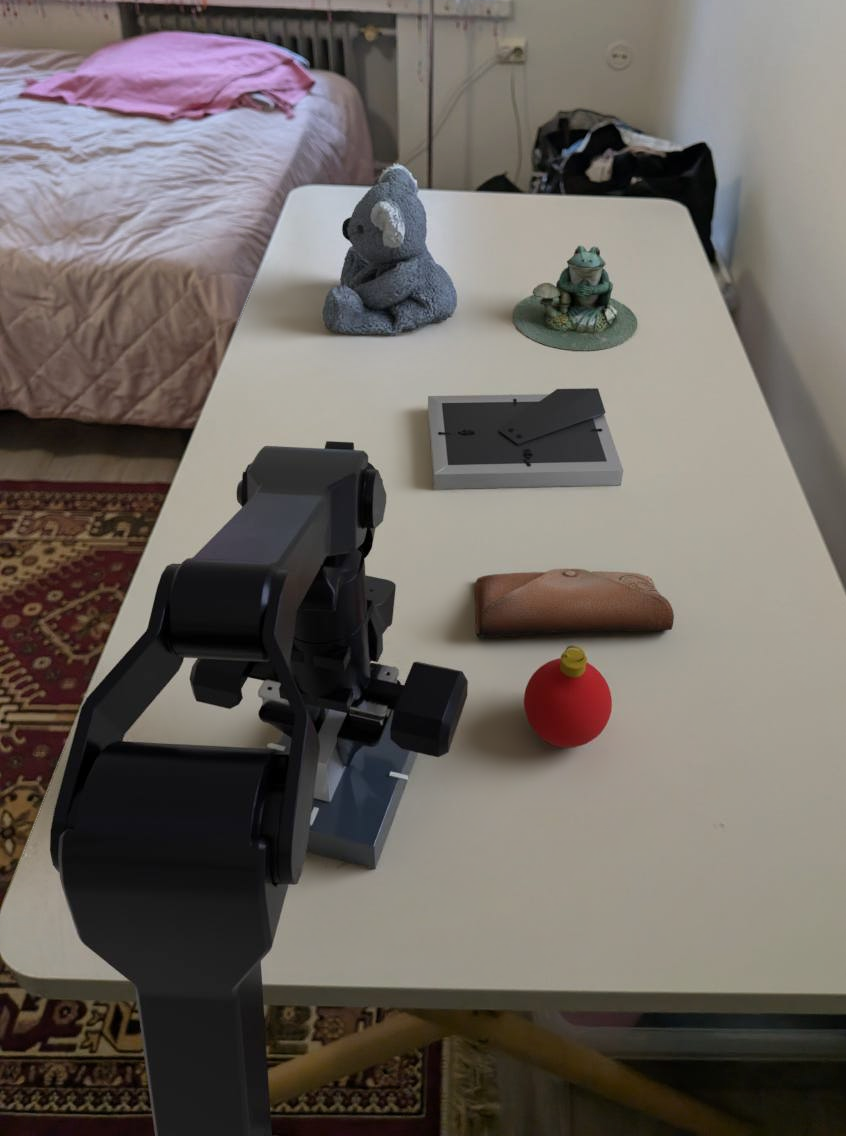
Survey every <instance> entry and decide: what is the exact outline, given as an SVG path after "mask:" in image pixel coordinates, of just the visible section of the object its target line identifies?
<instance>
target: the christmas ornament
mask: <svg viewBox="0 0 846 1136" xmlns="http://www.w3.org/2000/svg"><path fill="white" fill-rule="evenodd" d="M610 689H611V688H610V686H609V684H608V681H606V678H605V677H604V676H603V675H602V673H601V672H600V670H598V669H597V668H596V667H595V666H593V665H592V664H590V663H589V662H588V657H587V656H586V653H585V650H584V649H583V648H582V647H580V646H578V645H576V644H575V645H574V644H572V645H568V646H567V647H566V649H565V651H563V652H562V653H561V655H560V658H559V657H558V658H556V659H552V660H550V661H548V662H546V663H544V664H543V665H541V666H540V667H539V668H537V669H536V670H535V671H534V673H533V674H532V675H531V676H530V678H529V679H528V682H527V684H526V686H525V690H524V695H523V709H524V713H525V717H526V719H527V721H528V724H529V725H530V727H531V728H532V730H533V731H534V733H536V735H538V737H540V738H541V739H542V740H543V741H545V742H547V743H549V744H550V745H554V746H557V747H561V748H576V747H581V746H583V745H586V744H588V743H590V742H592V741H593V740H595V739H596V738H597V737H598V736H600V734H601V733H602V732H604V730H605V728H606V726H607V725H608V723H609V720H610V717H611V713H612V708H613V701H612V700H613V699H612V692H611V690H610Z"/></svg>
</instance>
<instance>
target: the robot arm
mask: <svg viewBox="0 0 846 1136" xmlns="http://www.w3.org/2000/svg"><path fill="white" fill-rule="evenodd" d="M241 477H242V478H241V480H240V481H239V482H238V483H237V487H236V502H237V503H238V504H239V505H240V506H241V508H240V509H239V510H238V511H237V512H236V513H235V514H234V515H233V516H231V518H230V519H229V520H228V521H227V522H226V523H225V524H224V525H223V526H222V527H221V529H219V530H218V532H216V533H215V535H213V537H211V538H210V540H208V541H207V543H206V544H205V545H204V546H202V548H201V549H200V550H198V552H197V553H196V554H195V555H194V556H193V557H190V558H189V557H188V558H186V559H184V560H182V562H181V563H170V564H167V565H166V566H165V568H164V570H163V571H162V573H161V575H160V578H159V581H158V583H157V587H156V590H155V595H154V599H153V603H152V608H151V612H150V616H149V620H148V624H147V628H146V630H145V631H144V632H143V634H142V635H141V636H140V637H139V638H138V640H137V641H136V642H135V643H134V644H133V645H132V646H131V647H130V649H128V651H127V652H126V653H125V654H124V655H123V656H122V657H121V658H120V660H118V662H117V663H116V664H115V665H114V666H113V668H112V669H111V670H110V671H109V672H108V673H107V674H106V675H105V677H104V678H103V679H102V680H101V681H100V682H99V683H98V685H97V686H96V687H95V688H94V689H93V690H92V691H91V693H89V695H88V696H87V697H86V698H85V701H84V702H83V703H82V706H81V707H80V711H79V714H78V719H77V723H76V726H75V730H74V734H73V738H72V742H71V745H70V748H69V753H68V757H67V761H66V764H65V768H64V770H63V771H64V772H63V776H62V780H61V783H60V786H59V791H58V794H57V798H56V802H55V806H54V811H53V816H52V821H51V826H50V831H49V832H50V833H49V835H50V836H49V851H50V853H49V854H50V858H51V861H52V862H51V863H52V866H53V867H54V869H55V870H56V871H57V873H59V880H60V885H61V888H62V891H63V895H64V898H65V900H66V904H67V907H68V910H69V914H70V915H71V918H72V922H73V925H74V929H75V931H76V935H77V936H78V938H79V939H80V942H81V943H82V944H83V945H84V946H86V947H87V948H88V949H90V951H92V952H93V953H94V954H96V955H97V956H98V957H99V958H101V959H102V960H103V962H106V964H107V965H109V966H111V967H112V968H113V969H114V970H115V971H116V972H117V973H119V974H120V975H122V976H123V977H124V978H125V979H127V980H128V981H129V982H130V983H131V984H133V987H134V990H135V992H134V993H135V999H136V1006H137V1014H138V1020H139V1026H140V1027H139V1029H140V1035H141V1041H142V1049H143V1056H144V1064H145V1072H146V1079H147V1086H148V1093H149V1101H150V1108H151V1115H152V1122H153V1129H154V1130H153V1131H154V1136H278V1135H277V1134H273V1132H272V1113H271V1099H270V1086H269V1085H270V1084H269V1083H270V1082H269V1068H268V1051H267V1039H266V1037H267V1035H266V1021H265V1006H264V1003H265V1002H264V990H263V974H262V973H263V972H262V960H263V959H264V958H265V957H266V956H267V955H268V954H269V953H270V952H271V950H272V948H273V945H274V940H275V936H276V934H277V929H278V926H279V922H280V918H281V916H282V915H281V914H282V911H283V908H284V904H285V900H286V895H287V893H288V890H289V889H288V888H289V885H297V884H298V883H299V881H300V878H301V877H302V873H303V869H304V865H305V862H306V855H307V852H306V849H307V843H308V836H309V828H310V820H311V813H312V805H313V797H314V790H315V782H316V774H317V767H318V759H319V751H320V743H319V737H318V733H319V731H320V728H321V726H322V724H323V722H324V720H325V718H326V714H325V708H326V709H330V710H335V711H339V712H344V713H347V714H346V717H345V719H344V721H343V723H342V725H341V728H340V730H339V732H338V734H337V741H338V747H339V752H340V758H341V761H342V763H343V765H344V766H346V767H349V766H350V764H351V761H352V759H353V757H354V755H355V753H356V752H357V751H358V750H359V749H360V748H362V747H363V746H368V747H374V746H377V745H378V744H379V743H380V741H381V738H382V736H383V734H384V731H385V729H386V726H387V724H388V721H389V719H390V716H391V714H392V711H393V710H394V713H393V718H392V722H391V727H390V739H391V740H392V741H393V742H394V743H395V744H397V745H398V746H399V747H400V748H401V749H404V750H409V751H413V752H417V754H422V755H426V756H430V757H433V758H434V757H436V758H440V757H442V756H444V755H446V754H448V753H449V752H450V750H451V746H452V743H453V740H454V738H455V734H456V731H457V728H458V725H459V722H460V719H461V716H462V714H463V709H464V707H465V705H466V701H467V699H468V698H467V697H468V690H469V687H468V686H469V681H468V679H467V676H466V675H465V673H464V672H463V671H462V670H458V669H453V668H450V667H444V666H440V665H435V664H430V663H425V662H421V661H413V662H412V665H411V667H410V670H409V672H408V674H407V677H406V679H405V681H404V684H402V683H401V681H400V680H399V679H398V677H399V676H400V669H399V668H397V667H394V666H391V665H387V664H386V665H385V664H381V663H378V662H379V661H380V658H381V656H382V654H383V652H384V638H383V635H384V633H385V632H386V631H387V630H388V628H390V627H391V626H392V624H393V619H394V608H395V599H396V587H397V585H396V583H395V582H393V581H392V580H390V579H385V578H380V577H376V576H372V575H367V574H366V562H365V561H366V558H367V557H368V556H369V554H370V552H371V550H372V548H373V544H374V538H375V533H376V529H377V527H379V526H380V525H381V524H382V523H383V521H384V517H385V512H386V506H387V492H386V489H385V486H384V482H383V480H384V479H383V478H382V477H381V473H380V471H379V470H378V469H376V468H375V466H374V465H373V464H372V463H370V462H369V455H368V453H367V452H366V451H365V450H358V449H355V443H354V442H351V441H332V440H326V442H325V445H324V448H319V447H301V446H300V447H298V446H283V445H282V446H280V445H279V446H278V445H264V446H263V447H261V449H260V450H259V451H258V452H257V454H256V455H255V457H254V459H253V460H252V461H251V463H249V464H247V467H246V468H245V470H244V471H242V476H241ZM185 659H196V660H195V662H193V665H192V666H191V670H190V675H189V677H188V678H189V683H190V687H191V692H192V695H193V697H194V699H195V701H196V702H198V703H202V704H206V705H211V706H216V707H219V708H223V709H228V710H231V709H233V708H235V707H237V706H239V705H240V704H241V702H242V700H243V698H244V697H243V691H242V690H243V688H244V685H245V684H246V682H247V680H248V678H249V679H254V680H258V681H262V684H261V685H260V687H259V688H258V691H257V695H258V697H259V698H261V700H262V701H261V702H262V704H261V706H260V708H259V710H258V713H257V714H258V719H259V720H260V722H263V723H265V724H266V723H267V724H269V725H271V726H273V727H274V728H275V729H277V730H279V731H280V732H282V734H283V733H285V734H286V735H288V736H289V737H290V738H292V740H291V747H290V754H289V755H288V754H281V753H280V752H279V751H278V750H276V749H271V748H262V747H241V746H224V745H223V746H221V745H204V744H203V745H201V744H183V743H182V744H181V743H163V742H146V741H145V742H143V741H124V737H125V736H126V734H127V732H128V731H129V730H130V729H131V728H132V727H133V726H134V724H135V723H136V722H137V721H138V720H139V718H140V717H141V716H142V715H143V714H144V712H145V711H146V710H147V709H148V708H149V707H150V705H151V704H152V703H153V701H155V699H156V698H157V697H158V696H159V695H160V693H161V692H163V690H164V689H165V687H166V686H167V685H168V684H169V683H170V681H172V679H173V678H174V677H175V676H176V675H177V673H178V672H179V671H180V669H181V667H182V665H183V663H184V660H185ZM272 1134H273V1135H272Z"/></svg>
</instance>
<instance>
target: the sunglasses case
mask: <svg viewBox="0 0 846 1136" xmlns="http://www.w3.org/2000/svg"><path fill="white" fill-rule="evenodd" d="M474 607H475V609H474V610H475V611H474V612H475V634H476V637H478V638H479V637H482V638H496V637H511V636H524V635H538V634H547V633H586V632H631V631H635V632H636V631H638V632H639V631H640V632H641V631H642V632H643V631H647V632H648V631H649V632H650V631H671V630H672V629H673V626H674V619H675V614H674V610H673V607H672V604H671V602H669V600H668V599H667V598H666V597H664V596H663V595H661V593H660V592H659V591H658V589H656V586H655V584H654V581H653V579H652V577H650V576H649V575H644V574H641V573H637V572H636V573H635V572H627V571H625V572H623V571H590V570H587V569H582V568H554V569H549V570H548V571H531V572H509V573H495V574H488V575H487V574H486V575H482V576H479V577H478V578H477V579H476V581H475V583H474Z"/></svg>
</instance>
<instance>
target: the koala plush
mask: <svg viewBox="0 0 846 1136" xmlns="http://www.w3.org/2000/svg"><path fill="white" fill-rule="evenodd" d="M377 182H378V184H375V185H373V186H372V187H371V188H370V189H369V190H367V192H366V193H365V194H364V195H363V197H361V199H360V201H358V203H357V204H356V205H355V207H354V208H353V211H352V214H351V216H350V217H347V218H346V219H344V220H343V222H342V227H341V232H342V236H343V237H344V239H346V240H347V241H349V243H350V244H351V246H349V248H348V250H347V252H346V253H345V254H346V255H345V256H344V262H343V266H342V268H341V273H340V278H339V281H340V282H339V284H338V285H337V286H336V285H333V286H331V287H330V289H329V290H328V293H327V295H326V297H325V299H324V304H323V307H322V311H321V315H322V318H321V319H322V321H323V326H324V327H326V329H327V330H328V329H331V331H333V332H334V333H341V334H347V335H370V334H371V335H374V334H378V335H384V336H390V337H392V336H396V335H400V334H401V333H402V331H403V330H404V329H405V330H408V331H417V329H420V328H423V327H425V326H426V325H428V324H431V323H438V322H439V323H440V322H446V321H447V320H448V319H450V318H452V317H453V314H454V312H455V310H456V307H457V306H458V294H457V290H456V287H455V286H454V282H453V280H452V277H451V276H450V275H449V273H448V272H447V270H445V268H444V267H442V265H440V264H439V263H437V262H436V261H435V259H434V257H433V256H432V254H431V252H430V251H429V249H428V246H427V243H426V241H427V234H428V228H427V222H428V220H427V212H426V209H425V206H424V204H423V202H422V200H421V199H420V198H419V192H420V191H419V188H418V181H417V179H415V178H414V177H413V174H412V172H411V171H409V169H408V168H406V167H405V166H404V165H402V164H399V162H397V163H395V162H394V163H393V164H392V166H391V165H390V166H387V167H385V169H382V173H381V175H380V177H379V178H378V180H377Z"/></svg>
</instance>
